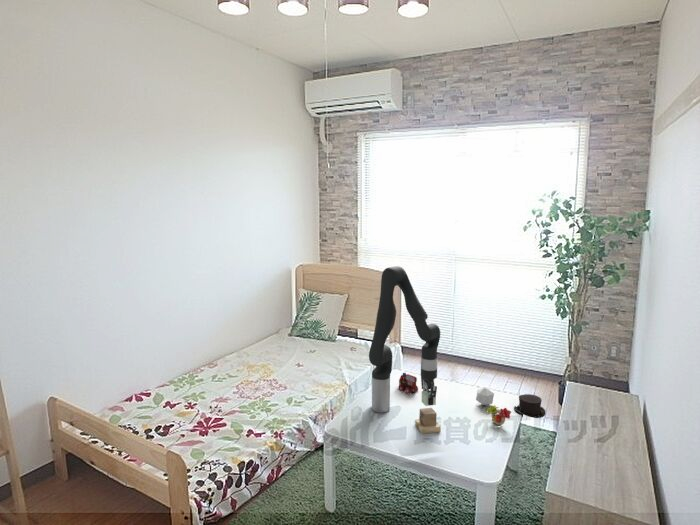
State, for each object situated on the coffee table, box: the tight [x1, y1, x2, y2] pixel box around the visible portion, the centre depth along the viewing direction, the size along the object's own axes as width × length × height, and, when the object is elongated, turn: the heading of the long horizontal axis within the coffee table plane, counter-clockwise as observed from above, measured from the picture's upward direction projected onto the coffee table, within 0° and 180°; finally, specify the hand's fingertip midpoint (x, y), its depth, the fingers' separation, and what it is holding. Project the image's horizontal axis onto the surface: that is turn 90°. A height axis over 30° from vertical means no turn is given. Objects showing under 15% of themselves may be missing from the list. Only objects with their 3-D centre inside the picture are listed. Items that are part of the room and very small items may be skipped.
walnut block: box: [418, 407, 438, 427], centre depth 213 cm, size 6×6×6 cm
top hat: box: [513, 391, 547, 419], centre depth 230 cm, size 15×15×10 cm
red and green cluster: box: [486, 405, 512, 426], centre depth 217 cm, size 6×11×9 cm, turn 44°
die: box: [475, 387, 495, 406], centre depth 236 cm, size 8×9×10 cm
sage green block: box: [421, 390, 437, 407], centre depth 212 cm, size 5×5×5 cm
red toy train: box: [397, 372, 419, 395], centre depth 255 cm, size 7×12×10 cm, turn 39°
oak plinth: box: [414, 418, 442, 435], centre depth 213 cm, size 9×9×2 cm
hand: (428, 402), depth 212 cm, fingers closed on sage green block, 5 cm apart
